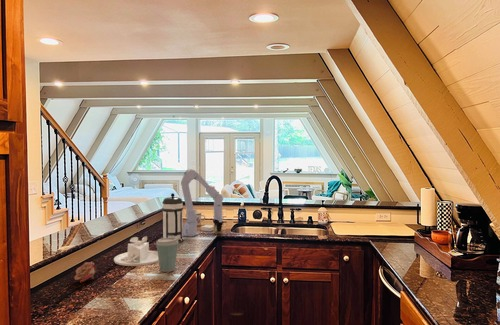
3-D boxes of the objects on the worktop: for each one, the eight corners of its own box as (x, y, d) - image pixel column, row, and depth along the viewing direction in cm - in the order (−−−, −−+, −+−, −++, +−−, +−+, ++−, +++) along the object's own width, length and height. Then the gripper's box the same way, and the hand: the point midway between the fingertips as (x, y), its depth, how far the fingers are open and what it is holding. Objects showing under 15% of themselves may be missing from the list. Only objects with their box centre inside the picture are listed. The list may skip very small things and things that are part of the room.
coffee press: (154, 242, 230) (154, 194, 229) (171, 237, 244) (171, 191, 243) (176, 245, 222) (176, 195, 221) (192, 240, 236) (192, 193, 235)
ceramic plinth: (210, 232, 261) (210, 227, 261) (200, 230, 265) (200, 226, 265) (216, 229, 268) (216, 225, 268) (207, 228, 272) (206, 224, 272)
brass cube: (222, 233, 255) (222, 226, 255) (215, 233, 254) (215, 226, 254) (220, 231, 260) (220, 224, 260) (213, 232, 259) (213, 225, 258)
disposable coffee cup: (156, 274, 171) (156, 242, 170) (155, 267, 181) (155, 236, 181) (179, 272, 174) (179, 240, 173) (177, 265, 184) (177, 235, 184)
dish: (113, 255, 203) (113, 234, 203) (160, 251, 212) (160, 231, 211) (114, 268, 180) (113, 245, 180) (166, 263, 189) (166, 241, 188)
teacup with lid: (189, 226, 280) (189, 210, 280) (189, 223, 289) (189, 208, 289) (205, 225, 281) (205, 210, 281) (205, 223, 290) (205, 208, 290)
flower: (95, 271, 170) (84, 258, 167) (105, 271, 164) (94, 258, 162) (79, 288, 164) (67, 276, 161) (89, 288, 158) (77, 276, 155)
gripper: (226, 212, 251) (226, 232, 251) (221, 209, 265) (221, 228, 265) (216, 213, 249) (216, 233, 249) (211, 209, 262) (211, 228, 263)
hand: (218, 230), depth 257 cm, fingers closed on brass cube, 5 cm apart
